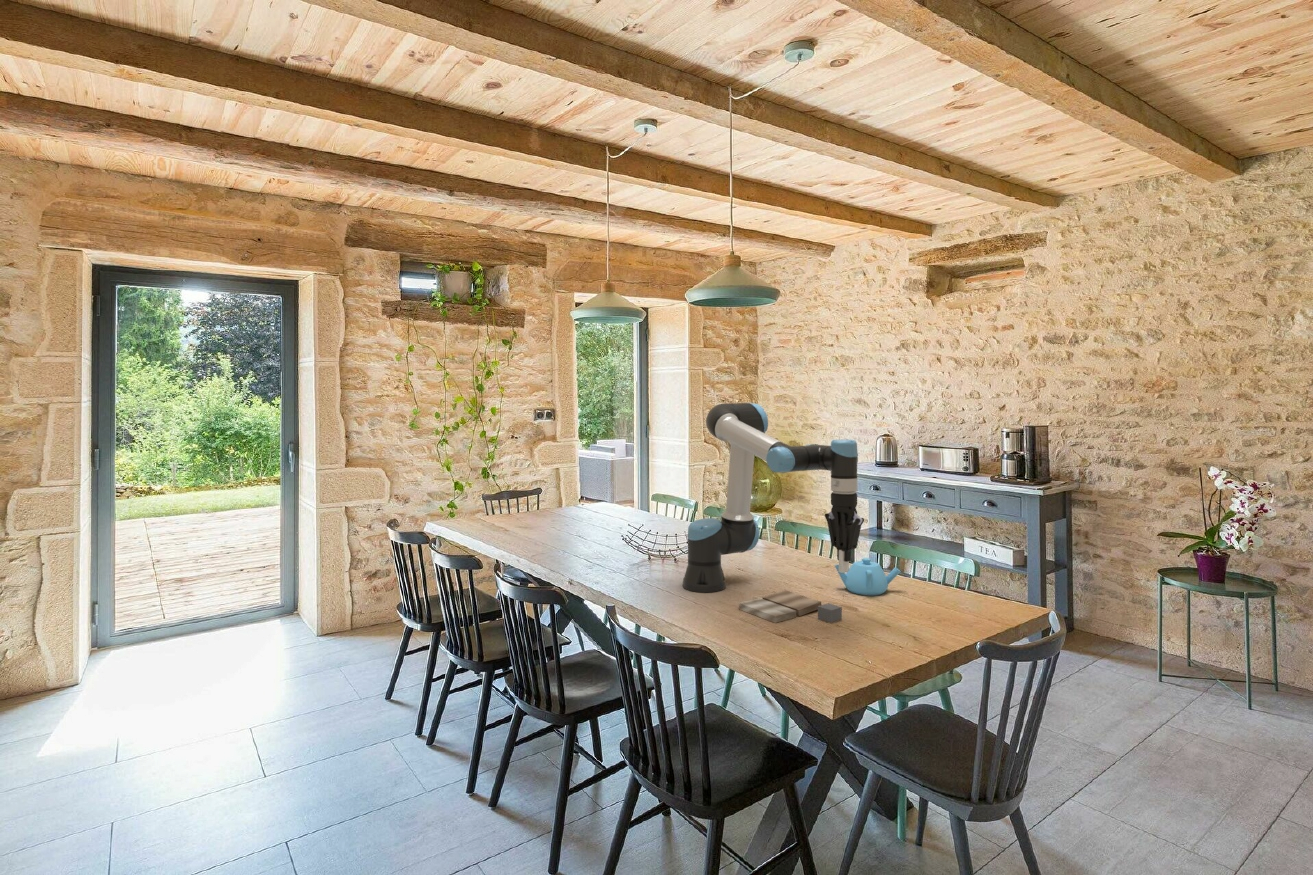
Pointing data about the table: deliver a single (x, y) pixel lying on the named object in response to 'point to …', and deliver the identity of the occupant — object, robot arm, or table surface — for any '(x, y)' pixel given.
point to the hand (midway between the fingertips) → (843, 571)
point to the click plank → (794, 601)
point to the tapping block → (829, 613)
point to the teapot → (867, 578)
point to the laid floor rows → (767, 610)
